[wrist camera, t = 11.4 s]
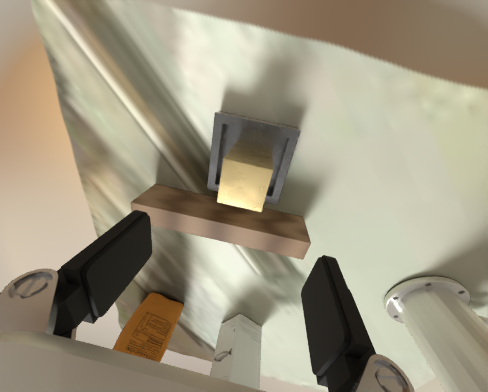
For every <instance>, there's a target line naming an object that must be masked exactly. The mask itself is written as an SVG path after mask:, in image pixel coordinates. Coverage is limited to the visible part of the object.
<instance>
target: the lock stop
mask: <svg viewBox="0 0 488 392" xmlns="http://www.w3.org/2000/svg"><path fill="white" fill-rule="evenodd" d="M272 173H273V157H272V147H270V146H265V145H261V144H257V143H252V142H248V141H243V140H239V139H238V140H237V142H236V143H235V144H234V146H233V147H232V148H231V149H230V151H229V152H228V153H227V155H226V156H225V157H224V158H223V164H222V171H221V178H220V185H219V192H218V198H217V202H219V203H224V204H228V205H232V206H236V207H241V208H245V209H249V210H254V211H258V212H261V211H262V208H263V204H264V201H265V197H266V194H267V190H268V187H269V183H270V180H271V176H272Z"/></svg>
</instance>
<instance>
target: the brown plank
mask: <svg viewBox="0 0 488 392" xmlns="http://www.w3.org/2000/svg"><path fill="white" fill-rule="evenodd" d="M131 209H132V212H133V211H134V210H139V211H143V212H147V214H148V216H150V222H151V225H154V226H158V227H162V228H167V229H171V230H175V231H180V232H184V233H189V234H193V235H197V236H202V237H206V238H210V239H215V240H219V241H224V242H228V243H232V244H237V245H241V246H246V247H250V248H254V249H259V250H263V251H267V252H272V253H276V254H281V255H285V256H289V257H294V258H298V259H304V257H305V255H306V253H307V251H308V248H309V246H310V244H311V242H310V238H309V235H308V231H307V228H306V225H305V221H304V218H303V217H300V216H296V215H291V214H287V213H282V212H278V211H273V210H269V209H265V208H262V211H261V212H258V211H254V210H249V209H245V208H241V207H236V206H232V205H228V204H224V203H219V202H217V198H215V197H211V196H206V195H202V194H197V193H193V192H189V191H184V190H180V189H175V188H171V187H166V186H162V185H157V184H155V185H153V186H152V187H151V188H149V189H148V190H147V191H145V192H144V193H143V194H141V195H140V196H139V197H137V198H136V199H135V200H133V201H132V202H131Z"/></svg>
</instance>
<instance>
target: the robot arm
mask: <svg viewBox="0 0 488 392" xmlns="http://www.w3.org/2000/svg"><path fill="white" fill-rule="evenodd" d="M151 254H152V239H151V222H150V216H148V214H147V212H143V211H139V210H134V211H133V212H131V213H130V214H129V215H127V216H126V217H125V218H124V219H122V220H121V221H120V222H118V223H117V224H116V225H115V226H113V227H112V228H111V229H109V230H108V231H107V232H105V233H104V234H103V235H102V236H100V237H99V238H98V239H97V240H95V241H94V242H93V243H91V244H90V245H89V246H87V247H86V248H85V249H84V250H82V251H81V252H80V253H78V254H77V255H76V256H74V257H73V258H72V259H71V260H69V261H68V262H67V263H65V264H64V265H63V266H61V268H60V269H59V270H58V271H57V272H56V271H55V270H52V269H38V270H34V271H31V272H27V273H25V274H23V275H21V276H19V277H17V278H16V279H14V280H12V281H11V282H10V283H9V284H8V285H7V286H6V287H5V288H4V290H3V291H2V292H1V293H0V392H265V391H262V390H258V389H254V388H251V387H247V386H244V385H240V384H237V383H233V382H229V381H226V380H222V379H219V378H215V377H211V376H208V375H204V374H200V373H197V372H193V371H190V370H186V369H182V368H179V367H175V366H171V365H168V364H164V363H160V362H157V361H153V360H149V359H146V358H142V357H138V356H134V355H131V354H127V353H123V352H119V351H116V350H112V349H108V348H104V347H101V346H97V345H93V344H89V343H85V342H81V341H77V340H75V337H76V329H77V326H78V325H79V324H80V323H81V322H82V321H85V322H89V323H94V322H95V321H96V320H97V318H99V317H102V316H103V315H104V314H105V313H106V312H107V311H108V310H109V308H110V307H111V306H112V305H113V303H114V302H115V301H116V300H117V298H118V297H119V296H120V295H121V293H122V292H123V291H124V290H125V288H126V287H127V286H128V285H129V283H130V282H131V281H132V280H133V278H134V277H135V276H136V275H137V273H138V272H139V271H140V269H141V268H142V267H143V266H144V264H145V263H146V262H147V261H148V259H149V258H150V257H151ZM301 297H302V304H303V311H304V318H305V325H306V332H307V339H308V345H309V352H310V359H311V366H312V371H313V373H314V374H315V375H316V377H317V383H318V385H322V386H326V387H328V390H329V392H414V388H413V386H412V384H411V382H410V381H409V379H408V377H407V376H406V375H405V373H404V372H403V371H402V370H401V369H400V368H399V367H398V366H397V365H396V364H395V363H394V362H393V361H391V360H390V359H389V358H387V357H385V356H383V355H379V354H376V352H375V350H374V347H373V345H372V342H371V340H370V338H369V335H368V333H367V330H366V328H365V325H364V323H363V320H362V318H361V316H360V313H359V311H358V308H357V306H356V303H355V301H354V299H353V296H352V294H351V292H350V290H349V289H348V287H347V285H346V283H345V280H344V278H343V275H342V273H341V270H340V268H339V265H338V263H337V260H336V259H335V258H333V257H329V256H325V255H323V256H322V257H319V258H318V259H317V261H316V263H315V265H314V267H313V269H312V271H311V273H310V275H309V277H308V279H307V281H306V282H305V284H304V286H303V288H302V291H301ZM469 302H470V294H469V293H468V291H467V290H466V289H465V288H464V287H463V286H462V285H461V284H460V283H458V282H457V281H454V280H452V279H449V278H444V277H435V276H432V277H420V278H415V279H411V280H408V281H406V282H403V283H401V284H399V285H397V286H396V287H394V288H393V289H392V290H391V291H390V292H389V293H388V294H387V295H386V297H385V299H384V307H385V309H386V311H387V313H388V314H389V316H390V317H391V318H393V319H394V320H396V321H398V322H401V323H404V324H405V326H406V328H407V329H408V331H409V333H410V334H411V336H412V338H413V339H414V341H415V343H416V344H417V346H418V348H419V349H420V351H421V353H422V354H423V356H424V358H425V359H426V361H427V363H428V364H429V366H430V368H431V369H432V371H433V373H434V374H435V376H436V377H437V379H438V381H439V382H440V384H441V386H442V387H443V389H444V391H445V392H488V318H486V317H482V316H478V315H477V314H476V313H475V312H474V311H473V310H472V309H471V308H470V307H469V306H468V305H469Z"/></svg>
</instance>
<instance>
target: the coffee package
mask: <svg viewBox="0 0 488 392" xmlns="http://www.w3.org/2000/svg"><path fill="white" fill-rule="evenodd" d="M182 309H183V304H182V303H180V302H176V301H172V300H169V299H167V298H166V297H164V296H163V295H161V294H157V293H153V292H152V293H150V294H149V295H148V296H147V297H146V299H145V300H144V301H143V302H142V303H141V304H140V306H139V307H138V308H137V309H136V311H135V312H134V314H133V315H132V317H131V318H130V320H129V321H128V322H127V324H126V325H125V327H124V328H123V330H122V332H121V333H120V335H119V337H118V339H117V341H116V343H115V346H114V348H113V349H112V350H116V351H119V352H123V353H127V354H131V355H134V356H138V357H142V358H146V359H149V360H153V361H157V362H160V361H161V359H162V357H163V355H164V353H165V350H166V348H167V345H168V342H169V340H170V338H171V335H172V333H173V331H174V328H175V326H176V324H177V322H178V319H179V317H180V315H181V312H182Z"/></svg>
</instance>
